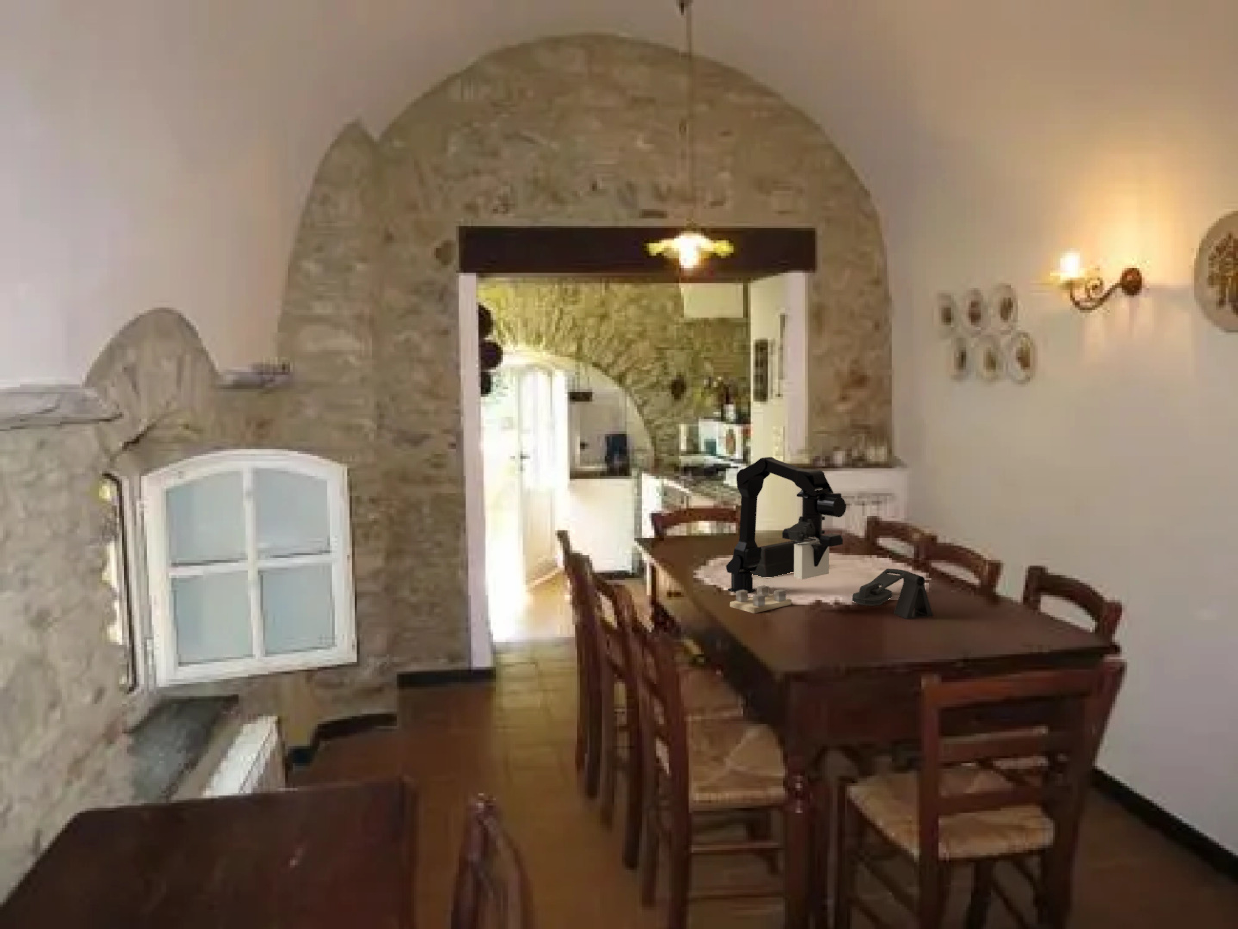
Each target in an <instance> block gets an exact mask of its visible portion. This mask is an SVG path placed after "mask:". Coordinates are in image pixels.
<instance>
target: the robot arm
mask: <svg viewBox="0 0 1238 929" xmlns="http://www.w3.org/2000/svg"><path fill="white" fill-rule="evenodd" d="M771 474H773V475H775V476H777V477H781V478H783V479H786V480H789V481H791V482H793V483H794V485H795V486H796V487H798V488H799V489H800V491H799V492H797V493H796V497H798V498H802V504H801V505H802V508H801V513H802V515H801V516H799V518H798V523H795V524H793V525H792V526H791V527H787V528H784V529H783V531H782V533H781V534H782V535H781V537H782V539H784V540H785V539H786V540H790V541H793V543H796V544H798V543H803V542H808V541H814V540H816V544H812V545H811V546H812V547H813V549H814V566H815V567H816V566H818V564H819V562H820V560H821V558H822V556H823V554H824V552H825V551H826V549H827V548H828V547H829V548H831V547H837V546H841V545H844V539H843V536H842V535H841V534H836V533H826V532H825V531H826V530H825V529H823V521H825V520H826V516H829V517H835V518H842V517H843V516H844V515H845V513H846V510H847V504H846V501H845V499H844V498H843V497H842V493H841V492H836V493H835V492H834V490H833V488H832V487H831V485H830V483H829V481H828V479H827V477H826V474H825V472H824V471H823V470H820V469H813V468H802V467H801V468H800V467H797V466H795V465H792V464H790V463H787V462H784V461H783V460H782V461H781V460H779V459H776V458H774V457H772V456H764V457H760V459H758V460H756V461H755V462H754V463H752V464H750V465H748V466H746V467H744V468H741V469H740V470H739V471H737V473H736V478H735V479H736V488H737V490H738V492H739V494H740V497H741V498H740V515H739V516H740V520H739V521H740V522H739V535H738V536H739V537H738V539H739V540H738V542H737V544H736V545H735V547H734V548H733V554H732V558H731V560H729V562H728V563H727V564H726V565H725V568H726V572H727V573H729V574H731V575H730V576H731V577H730V578H731V579H730V580H731V581H730V582H731V583H730V587H729V588H727V591H730V592H733V593H734V592H735V593H736V591H740V590H746V591H748V593H751V592H755V591H756V588H753V584H754V581H753V580H754V579H753V575H752V572H751V571H756V569H757V566H758V564H759V562H760V560H761V546H758V544H757V542H756V528H757V527H756V526H757V511H758V510H757V509H758V508H757V507H758V505H757V504H758V496H759V494H760V492H761V491H762V490H763V486H764V481H765V479H767V477H769V476H770V475H771ZM794 540H795V541H794ZM754 590H755V591H754Z"/></svg>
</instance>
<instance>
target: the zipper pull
mask: <svg viewBox="0 0 1238 929" xmlns="http://www.w3.org/2000/svg"><path fill="white" fill-rule="evenodd" d="M906 572H907V573H909V572H910V571H908V570H903V569H898V568H886V569H884V570H883V571H882V572H881V573H880V574H878V575H877V576H876V577H875V578H874V579H873V580H871V581H870V582H869V583H865V584H863V585H861V586H860V587H859V591H856V592H853V593H852V600H851V602H852V601H854V602H856V603H858V604H857V605H860V606H870V607H873V606H881V605H883V604H884V603H885V602H884V601H886V602H887V601H889V600H890V599H889V598H891V597H892V598H893V591H892V590H890V589H887V588H888V587H890V586H892V585H893V584H895V583H897V582H898V581H900V580H902V579H903V576H904V574H905V573H906ZM892 598H891V599H892ZM888 599H889V600H888ZM883 602H884V603H883ZM856 603H855V604H856Z"/></svg>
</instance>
